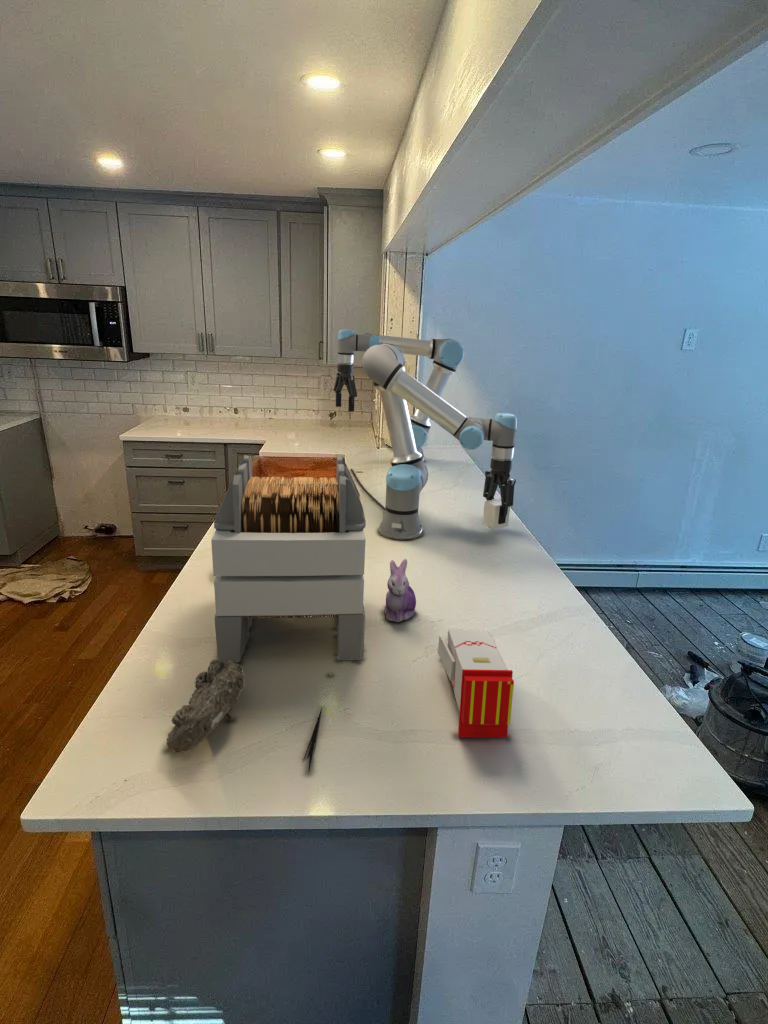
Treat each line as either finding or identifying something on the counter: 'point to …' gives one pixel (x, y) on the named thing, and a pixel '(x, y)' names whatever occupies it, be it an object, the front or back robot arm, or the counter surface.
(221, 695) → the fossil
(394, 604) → the figurine
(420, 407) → the front robot arm
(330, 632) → the counter surface
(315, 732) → the feather
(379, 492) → the counter surface
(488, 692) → the toy
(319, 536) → the record storage crate
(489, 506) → the block
